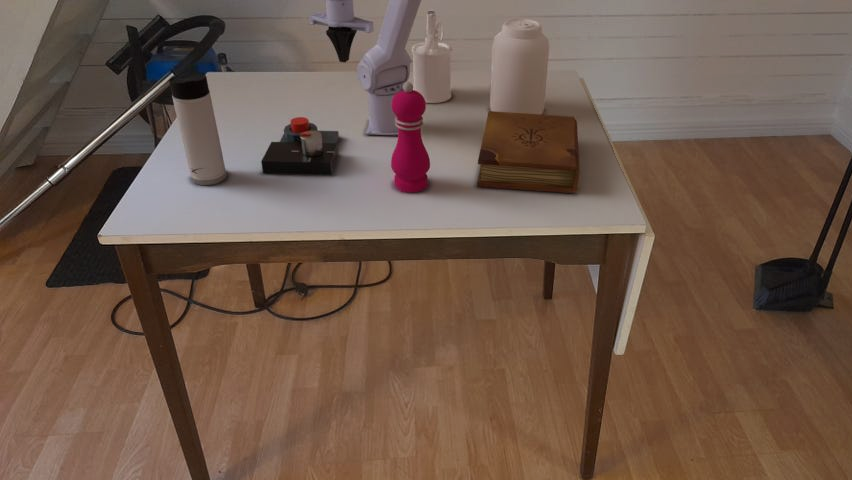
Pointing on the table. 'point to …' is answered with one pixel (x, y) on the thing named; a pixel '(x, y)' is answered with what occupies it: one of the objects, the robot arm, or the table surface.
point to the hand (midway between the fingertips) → (344, 60)
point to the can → (519, 68)
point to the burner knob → (311, 143)
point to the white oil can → (432, 64)
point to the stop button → (299, 125)
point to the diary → (529, 152)
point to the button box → (295, 137)
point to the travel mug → (198, 128)
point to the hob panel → (298, 159)
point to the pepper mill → (409, 141)
